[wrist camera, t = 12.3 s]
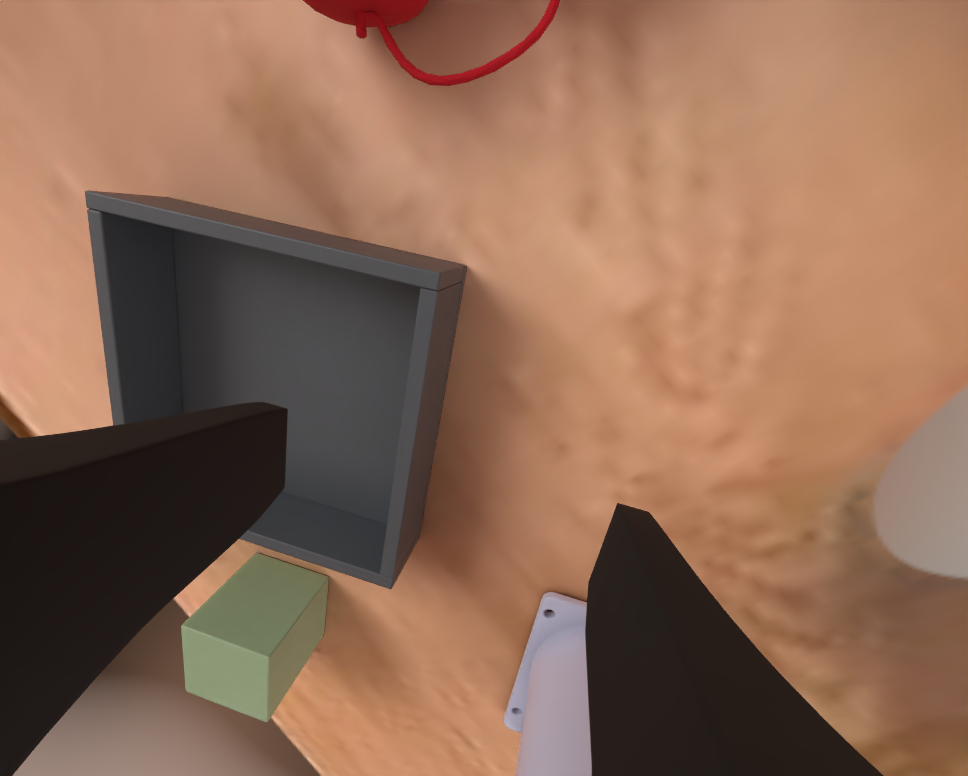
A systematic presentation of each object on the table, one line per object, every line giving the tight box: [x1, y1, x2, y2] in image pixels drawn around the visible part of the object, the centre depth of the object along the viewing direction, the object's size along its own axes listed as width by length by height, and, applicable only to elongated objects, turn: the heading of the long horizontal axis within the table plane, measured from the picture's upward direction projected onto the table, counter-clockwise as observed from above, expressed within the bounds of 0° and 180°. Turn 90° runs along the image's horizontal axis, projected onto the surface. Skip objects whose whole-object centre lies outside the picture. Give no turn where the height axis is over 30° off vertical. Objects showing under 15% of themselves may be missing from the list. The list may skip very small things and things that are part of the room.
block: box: [181, 553, 329, 722], centre depth 23 cm, size 4×4×5 cm
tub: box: [85, 191, 467, 589], centre depth 19 cm, size 13×13×3 cm
